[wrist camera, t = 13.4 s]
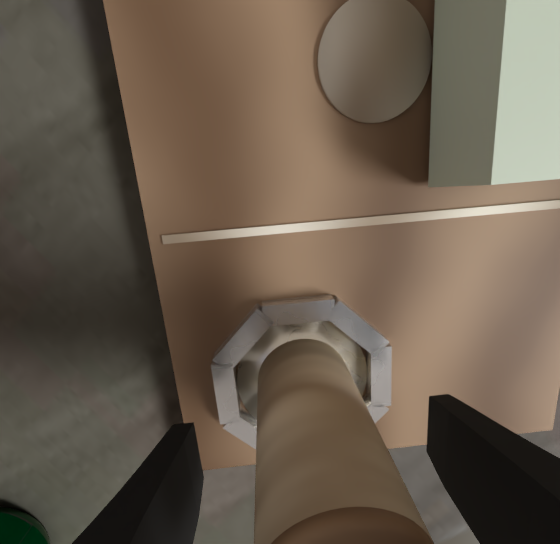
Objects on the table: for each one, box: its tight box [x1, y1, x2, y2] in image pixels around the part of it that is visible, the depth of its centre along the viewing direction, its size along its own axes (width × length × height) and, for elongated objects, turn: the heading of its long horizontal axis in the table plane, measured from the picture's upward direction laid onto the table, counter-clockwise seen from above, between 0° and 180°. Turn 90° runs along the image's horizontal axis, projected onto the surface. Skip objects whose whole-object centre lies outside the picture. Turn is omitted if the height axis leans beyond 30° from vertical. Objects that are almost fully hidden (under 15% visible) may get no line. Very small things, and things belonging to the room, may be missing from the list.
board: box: [103, 0, 560, 470], centre depth 12 cm, size 16×20×1 cm
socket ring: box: [211, 294, 392, 449], centre depth 12 cm, size 7×7×1 cm
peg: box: [254, 339, 434, 544], centre depth 9 cm, size 4×4×7 cm
